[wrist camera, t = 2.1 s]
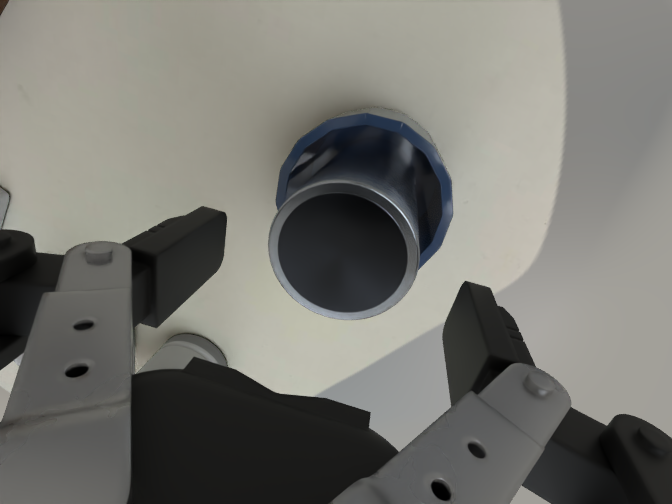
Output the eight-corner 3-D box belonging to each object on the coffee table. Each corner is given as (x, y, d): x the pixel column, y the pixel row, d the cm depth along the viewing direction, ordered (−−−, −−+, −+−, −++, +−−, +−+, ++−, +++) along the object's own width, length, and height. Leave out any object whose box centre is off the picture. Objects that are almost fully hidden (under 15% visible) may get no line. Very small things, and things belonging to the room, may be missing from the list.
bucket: (321, 91, 21) (291, 93, 16) (463, 127, 21) (482, 142, 15) (297, 223, 25) (266, 259, 20) (417, 256, 25) (418, 304, 19)
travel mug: (244, 379, 33) (43, 735, 15) (188, 392, 35) (-47, 716, 17) (209, 324, 31) (-73, 657, 13) (152, 341, 33) (-158, 646, 15)
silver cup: (339, 127, 21) (278, 161, 12) (427, 150, 21) (442, 205, 11) (321, 210, 24) (258, 298, 14) (400, 232, 23) (393, 338, 14)
